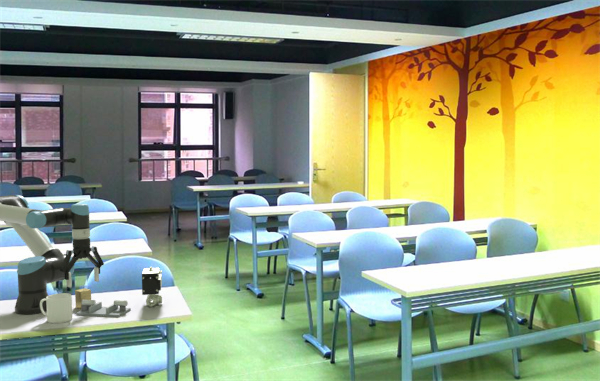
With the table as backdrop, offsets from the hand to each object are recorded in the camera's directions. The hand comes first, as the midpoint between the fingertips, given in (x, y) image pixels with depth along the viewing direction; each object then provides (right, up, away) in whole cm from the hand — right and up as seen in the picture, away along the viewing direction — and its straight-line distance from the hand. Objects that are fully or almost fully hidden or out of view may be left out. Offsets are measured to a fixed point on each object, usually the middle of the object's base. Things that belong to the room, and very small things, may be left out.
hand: (83, 284), depth 270 cm
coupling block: (0, -11, +1) cm, 11 cm away
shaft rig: (+12, -11, -9) cm, 19 cm away
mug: (-4, -13, -20) cm, 24 cm away
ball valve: (+31, -11, +4) cm, 33 cm away
